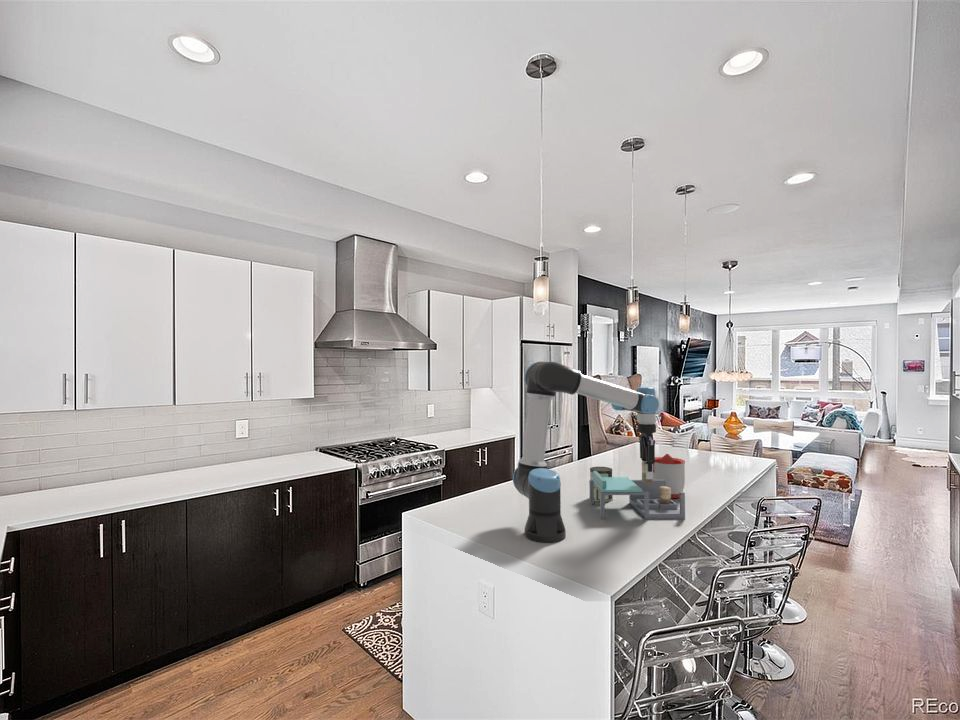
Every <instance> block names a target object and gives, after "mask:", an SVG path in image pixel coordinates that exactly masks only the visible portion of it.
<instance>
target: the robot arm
mask: <svg viewBox="0 0 960 720" xmlns="http://www.w3.org/2000/svg"><path fill="white" fill-rule="evenodd" d="M523 379H524V382H525V384H526V391H525V392H526V395H527V397H528V398H529V401H528V408H527V416H526V417H527V418H526V426H525V434H524V442H523V444H524V445H523V453H522V457H521V458H520V459H519V460H518V463H517V467H516V468H515V469H514V471H513V474H512V483H513V486H514V487H515V489H516V490H517V492H518V493H519V494H521V495H522V496H524V497H525V498H527V499H528V516H527V520H526V523H525V526H524V536H525V537H526V538H527V539H529V540H531V541H535V542H540V543H555V542H560V541H563V540H564V539H566V536H567V535H566V534H567V533H566V527H565V523H564V521H563V518H562V513H561V512H562V511H561V502H562V501H561V500H562V499H561V497H562V496H561V485H562V484H561V477H560V474H559V473H558V472H557V471H555V470H553V469H549V468H548V464H547V462H546V461H545V455H546V447H547V446H546V445H547V438H548V427H549V419H550V411H551V403H552V400H554V398H556V393H562V394H568V395H572V396H574V395H575V394H577V395H580V396H584V397H587V398H591V399H595V400H597V401H601V402H605V403H608V404H610V405H611V407H612V409H613V410H614V411H621V412H622V411H628V412H634V413H636V422H637V424H636V425H637V432H638V433H640V434H641V435H639V436H638V440H639V458H640V459H641V463H642V462H646V463H645V464H646V479H653V463H655V457H656V453H655V448H656V447H655V446H656V445H655V444H656V440H654V437H653V434H656V432H657V424H656V421H657V419H656V418H657V414H656V412H657V411H658V409H659V408H660V407H659V406H660V402H659V399H658V398H657V397H656V389H655V387H652V386H638V387H637V388H636V390H633V389H631V388H627V387H623V386H622V385H621V386H620V385H617V384H615V383H610V382H607V381H605V380H601V379H599V378H595V377H592V376H588V375H584V374H582V373H581V370H578V369H574V368H573V367H570V366H567V365H565V364H562V363H560V362H557V361H537V362H534V363H532V364H529V366H528V367H527V368H526V370H525V372H524V378H523Z"/></svg>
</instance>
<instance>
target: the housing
mask: <svg viewBox="0 0 960 720" xmlns="http://www.w3.org/2000/svg"><path fill="white" fill-rule="evenodd" d="M630 480H631V481H632V482H634V483H635V484H636V485H637V486H639V487H640V488H641V489H642V490H643V492H600V502H599V512H600V515H599V518H600V520H605V519H606V517H605V516H606V513H605V512H606V510H605V509H606V507H605V505H606V503H605V495H613V496H628V497H629V498H628V499H629V500H628V501H629V504H630V505H631V506H632V507H633V508H634V509H635V510H636V511H637V512H638V513H639V514H640V515H641V516H642V517H643V518H644V519H646V520H679V519H681V520H682V519H683V520H685V519H686V493H685V491H683V492H680V497H679V508H678V503H676V501H675V502H674V501H673V500H672V499H671V504H660V490H659V487H661V486H665V487H666V480H653V482H652V483H645V482H642V479H630ZM588 483H589V486H588V487H589V488H588V489H589V491H588V492H589V504H590V505H594V502H595V501H594V489H593V483H594V482H593V480H590V479H589V482H588Z"/></svg>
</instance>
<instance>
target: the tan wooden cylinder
mask: <svg viewBox="0 0 960 720" xmlns="http://www.w3.org/2000/svg"><path fill="white" fill-rule="evenodd" d="M659 490H660V504H671V500H672V498H671V488H670V487H665V486H661V487H659Z"/></svg>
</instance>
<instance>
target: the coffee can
mask: <svg viewBox="0 0 960 720" xmlns="http://www.w3.org/2000/svg"><path fill="white" fill-rule="evenodd" d="M593 471H597V472H598V473H599V474H600V475H601V476H602V477H613V468H611V467H607V466H593V467H589V480H592V477H593ZM593 489H594V502H599V503H600V492H602V490H601V489H600V488H599V487H598V486H597V485H596V484H595V483H593ZM613 496H614V495H605V502H606V503H607V502H611V501H613V499H614V497H613Z"/></svg>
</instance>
